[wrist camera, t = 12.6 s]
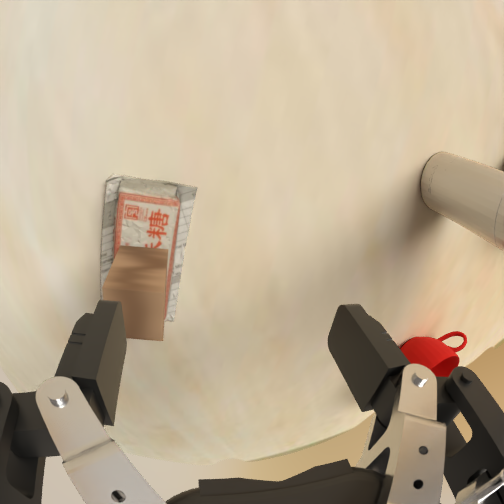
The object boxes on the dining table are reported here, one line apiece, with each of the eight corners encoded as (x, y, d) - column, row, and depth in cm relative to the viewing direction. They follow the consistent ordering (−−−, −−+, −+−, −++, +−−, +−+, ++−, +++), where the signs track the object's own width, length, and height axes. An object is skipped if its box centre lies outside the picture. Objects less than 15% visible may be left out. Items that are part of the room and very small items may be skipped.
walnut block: (168, 249, 29) (163, 293, 22) (166, 291, 31) (163, 340, 24) (120, 245, 28) (102, 287, 21) (121, 287, 30) (107, 336, 23)
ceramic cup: (449, 328, 55) (475, 355, 46) (394, 378, 57) (415, 409, 48) (438, 299, 49) (470, 329, 40) (374, 358, 51) (400, 394, 43)
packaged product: (97, 181, 25) (198, 195, 28) (109, 171, 29) (197, 184, 32) (95, 330, 32) (174, 341, 34) (102, 307, 36) (174, 317, 39)
